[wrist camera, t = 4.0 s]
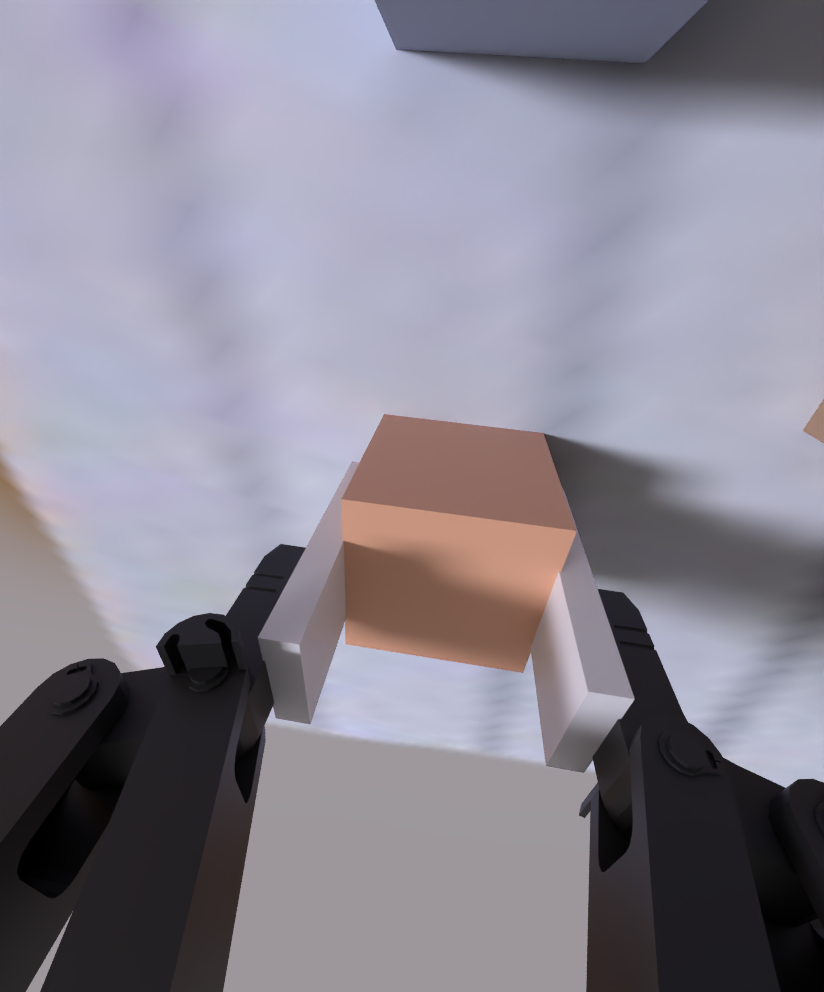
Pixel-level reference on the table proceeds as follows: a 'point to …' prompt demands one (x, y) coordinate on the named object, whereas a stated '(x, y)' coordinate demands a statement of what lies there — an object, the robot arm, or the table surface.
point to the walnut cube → (816, 424)
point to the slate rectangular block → (538, 27)
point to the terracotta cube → (452, 541)
